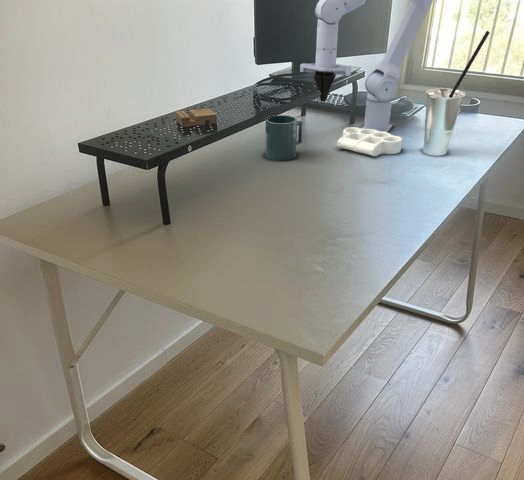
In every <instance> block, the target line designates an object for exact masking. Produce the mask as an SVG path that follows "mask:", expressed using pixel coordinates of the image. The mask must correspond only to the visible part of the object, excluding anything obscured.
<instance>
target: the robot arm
mask: <svg viewBox="0 0 524 480" xmlns="http://www.w3.org/2000/svg"><path fill="white" fill-rule="evenodd" d="M433 1H434V0H410V3H409V5H408V7H407V9H406V11H405V13H404V15H403V17H402V19H401V21H400V23H399V25H398V27H397V29H396V31H395V33H394V35H393V37H392V39H391V42H390V43H389V46H388V47H387V50H386V52H385V54H384V56H383V58H382V60H381V61H379V62H378V63H377V64H376V65H375V67H374V68H373V70H372V72H370V73H369V74H368V75H367V76H366V79H365V82H364V88H365V90H366V92H367V95H366V101H365V102H366V103H365V113H364V122H363V125H362V127H361V129H374V130H377V131H382V132H387V133H389V132H388V131H390V129H392V127H393V124H390V123H391V113H392V107H393V106H392V105H393V104H392V98H393V97H394V96H395V94H396V91H397V87H398V82H399V80H400V78H401V77H400V67H401V66H402V63H403V62H404V60H405V58H406V55H407V53H408V52H409V50H410V48H411V46H412V44H413V42H414V39H415V38H416V36H417V34H418V32H419V30H420V29H421V26H422V24H423V22H424V20H425V18H426V16H427V14H428V13H429V10H430V8H431V6H432V4H433ZM366 2H367V0H318V2H317V3H316V7H315V8H314V14H315V16H316V18H317V27H316V45H315V63H306V62H305V63H301V64H300V66H299V72H300V73H314V75H313V79H314V81H315V84H316V86H317V90H318V91H319V90H320V92H321V95H319V101H320V102H326V101H327V100H328V96H329V92H330V89H331V87H332V84H333V83H334V80H335V78H336V76H337V75H339V76H346V77H350V76H352V67H351V66H344V65H338V64H337V52H338V40H339V39H338V38H339V21H341V20H342V18H343V16H344V15H346V14H348V13H350V12H352V11H354V10H355V9H358V8H359V7H361V6H363V5H365V3H366Z"/></svg>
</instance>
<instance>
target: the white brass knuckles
mask: <svg viewBox="0 0 524 480" xmlns="http://www.w3.org/2000/svg"><path fill="white" fill-rule="evenodd" d="M361 128H362V127H361ZM361 128H360V127H357V126H350V127H345V128H344V129H343V130H342V136H341V137H340V138H338V140H337V141H336V147H337V148H339V149H344V150H348V151H352V152H355V153H360V154H364V155H369V156H371V157H377V156H379V155H397V154H400V153H401V150H402V144H403V137H401V136H398V135H394V134H392V133H390V132H382V131H377V130H374V129H361Z"/></svg>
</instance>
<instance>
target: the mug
mask: <svg viewBox="0 0 524 480" xmlns="http://www.w3.org/2000/svg"><path fill="white" fill-rule="evenodd" d="M273 116H274V117H272V118H270V119H268V120H266V119H265V157H266V158H267V159H269V160H272V161H281V162H282V161H284V162H285V161H290V160H293V159H295V158H296V156H297V146H298V145H301V144H302V143H303V120H298V118H297V117H295V116H293V115H287V114H277V116H275V115H273ZM297 135H298V136H297ZM297 137H298V139H297Z"/></svg>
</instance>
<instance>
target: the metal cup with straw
mask: <svg viewBox="0 0 524 480" xmlns="http://www.w3.org/2000/svg"><path fill="white" fill-rule="evenodd" d="M490 34H491V32H490V31H488V30H486V31H485V33H484V35H483V36H482V38H481V39H480V42H479V43H478V45H477V47H476V49H475V50H474V52H473V54H472V55H471V56H470V59H469V60H468V62H467V64H466V66H465V67H464V69H463V70H462V72H461V74H460V76H459V78H458V79H457V81H456V83H455V85H454V86H453V88H447V87H445V88H444V87H437V88H430V89H427V90H426V91H425V94H426V105H425V118H424V119H425V120H424V136H423V149H422V152H423V153H424V154H425V155H429V156H434V157H435V156H436V157H438V156H439V157H441V156H445V155H446V154H447V153H448V149H449V145H450V143H451V139H452V135H453V132H454V129H455V126H456V123H457V119H458V116H459V113H460V109H461V106H462V103H463V99H464V97H465V96H467V94H466V92H465V91H463V90H459V86H460V85H461V84H462V81H463V79H464V78H465V76H466V74H467V73H468V71H469V69H470V68H471V66H472V64H473V63H474V61H475V59H476V57H477V56H478V55H479V53H480V50H481V49H482V47H483V46H484V43H485V42H486V41H487V38H488V37H489V35H490Z"/></svg>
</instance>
